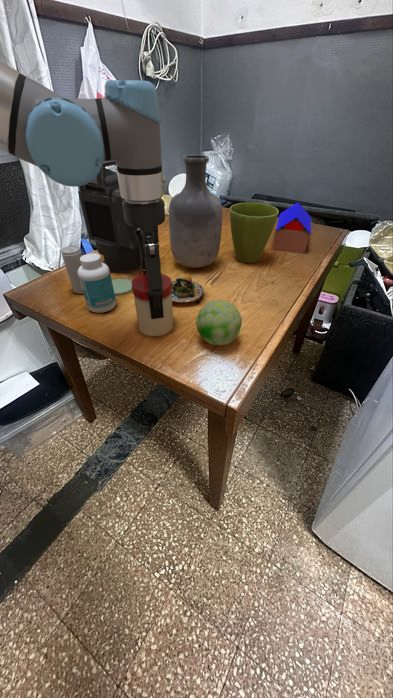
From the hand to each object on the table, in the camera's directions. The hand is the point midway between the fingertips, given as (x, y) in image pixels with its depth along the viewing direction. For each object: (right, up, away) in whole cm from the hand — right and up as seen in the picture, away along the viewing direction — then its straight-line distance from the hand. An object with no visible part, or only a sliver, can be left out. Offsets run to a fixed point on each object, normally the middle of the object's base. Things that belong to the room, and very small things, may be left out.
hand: (154, 306), depth 66 cm
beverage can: (-23, +7, +16) cm, 29 cm away
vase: (+9, +18, +29) cm, 36 cm away
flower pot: (+27, +21, +33) cm, 48 cm away
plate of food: (+6, +5, +14) cm, 16 cm away
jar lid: (0, +4, -4) cm, 6 cm away
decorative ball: (+15, -8, 0) cm, 17 cm away
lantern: (-13, +18, +28) cm, 36 cm away
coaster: (-13, +8, +17) cm, 23 cm away
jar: (0, -4, +4) cm, 6 cm away
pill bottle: (-15, +1, +10) cm, 18 cm away
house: (+46, +32, +45) cm, 72 cm away
